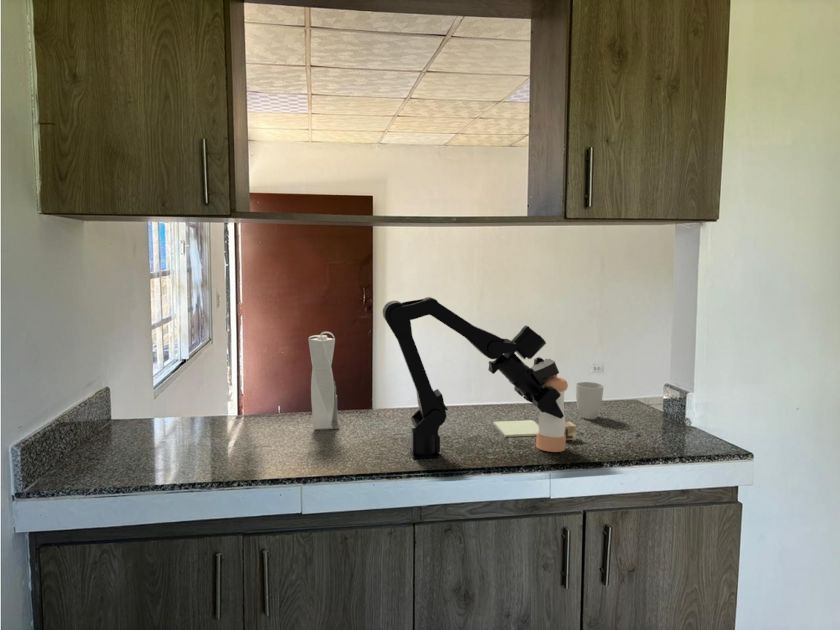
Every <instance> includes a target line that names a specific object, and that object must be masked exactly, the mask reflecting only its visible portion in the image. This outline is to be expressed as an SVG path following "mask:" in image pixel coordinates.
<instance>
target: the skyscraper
mask: <svg viewBox="0 0 840 630" xmlns="http://www.w3.org/2000/svg"><path fill="white" fill-rule="evenodd" d="M325 334H326V335H325ZM327 334H328V335H331V336H332V338H331V337H328V335H327ZM335 343H336V338H335V336H334V334H333V333H332V332H330V331H322V332H321V333H320V334H315V335H311V336H309V337H308V347H309V353H310V360H311V365H312V366H311V367H312V370H311V378H310V379H311V381H310V399H311V413H312V414H311V416H312V423H313V424H312V425H313V431H314V430H320V431H329V430H328V429H338V430H340V426H339V425H340V424H339V421H338V417H339V414H338V413H339V411H338V395H337V386H336V381H335V380H334V374H333V368H332V365H333V364H332V363H333V359H334V352H335V345H336V344H335Z"/></svg>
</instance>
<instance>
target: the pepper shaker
mask: <svg viewBox="0 0 840 630" xmlns="http://www.w3.org/2000/svg"><path fill="white" fill-rule="evenodd" d="M544 381H545V382H546V383H545V384H544V385H543V386H541V387H543V388H544V387H545V386H551V387H553V388H555V389H556V390H557V391H558V392H559V393H560V394H561V395H560V397H559V398H558V399H557V400H556V402H557V404H558V406H559V408H560V410H561V411H562V413H563V415H564V416H563V417H562V418H561V419H560V418H558V417H555V416H553V415H550V414H548V413H545V412H543V413H542V412H541V411H540V413H539V417H538V425H539V432H537V436H536V443H535V444H536V448H537V449H539V450H540V451H544V452H551V453H558V452H564V451H565V450H566V435H565V434H564V431H565V422H566V417H565V415H566V414H565V408H564V407H565V406H564V405H565V391H567V390H568V387H569V384H568V382H567V380H566V379H564V377H562V376H558V374H557V375H553V376H551V377H549V378H547V379H545V380H544Z"/></svg>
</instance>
